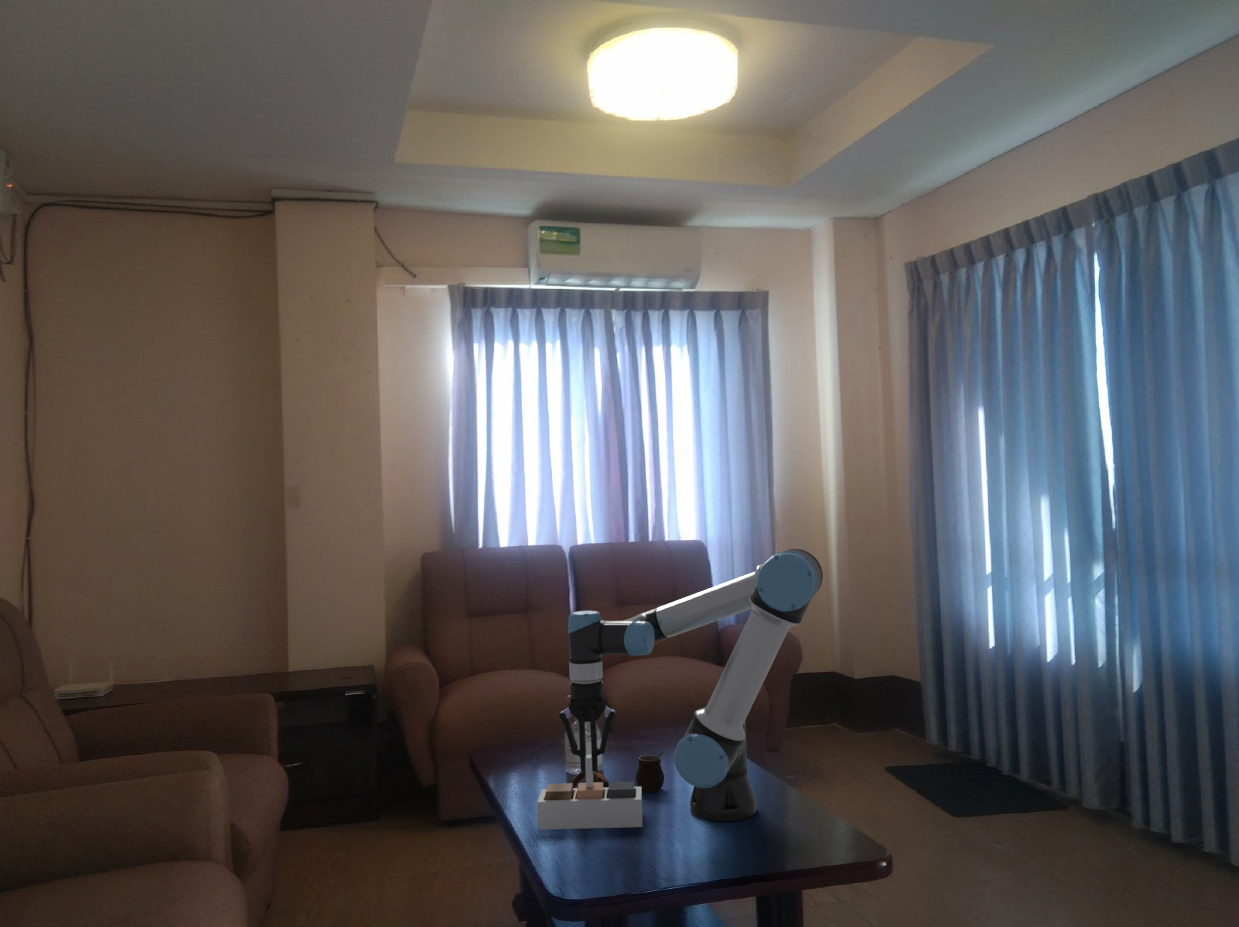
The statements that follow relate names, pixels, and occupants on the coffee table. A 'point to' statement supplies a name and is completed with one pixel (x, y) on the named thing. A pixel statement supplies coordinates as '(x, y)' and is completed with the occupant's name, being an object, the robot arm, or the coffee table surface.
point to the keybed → (590, 812)
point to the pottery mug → (596, 778)
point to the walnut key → (559, 791)
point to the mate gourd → (650, 773)
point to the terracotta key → (590, 791)
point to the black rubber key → (621, 790)
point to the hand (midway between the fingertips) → (589, 785)
